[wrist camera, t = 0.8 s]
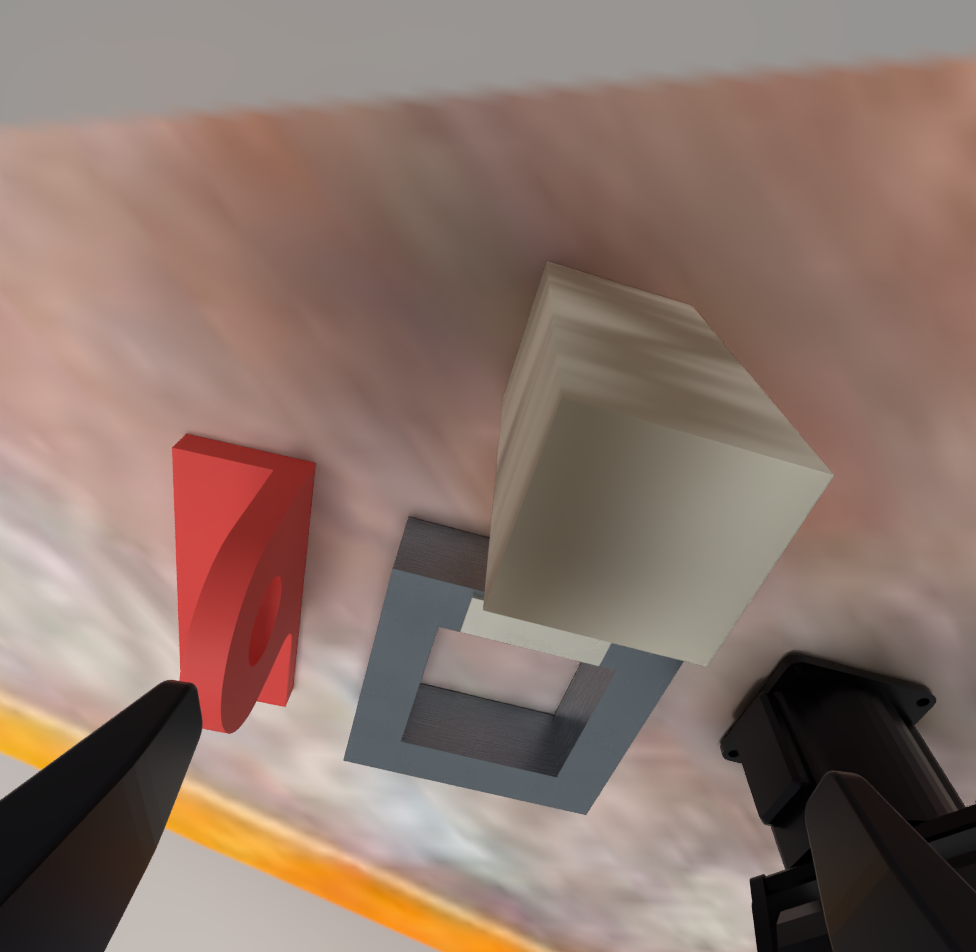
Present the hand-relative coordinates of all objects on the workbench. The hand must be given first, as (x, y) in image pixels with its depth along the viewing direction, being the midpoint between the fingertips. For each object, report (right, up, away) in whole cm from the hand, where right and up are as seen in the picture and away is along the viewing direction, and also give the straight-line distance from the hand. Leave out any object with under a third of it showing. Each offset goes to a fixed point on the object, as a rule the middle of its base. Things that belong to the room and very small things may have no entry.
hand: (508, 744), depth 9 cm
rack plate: (0, -3, +17) cm, 17 cm away
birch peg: (+3, +8, +10) cm, 13 cm away
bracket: (-10, 0, +16) cm, 19 cm away
